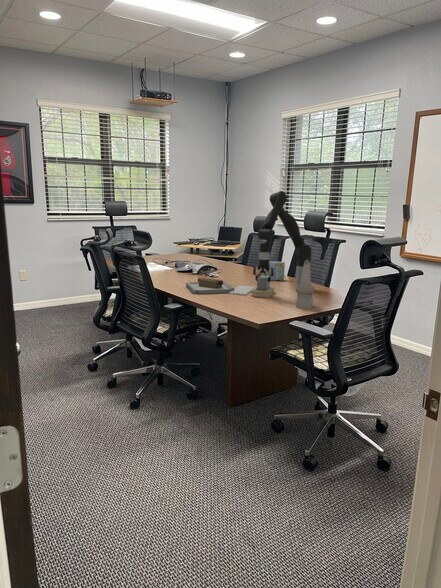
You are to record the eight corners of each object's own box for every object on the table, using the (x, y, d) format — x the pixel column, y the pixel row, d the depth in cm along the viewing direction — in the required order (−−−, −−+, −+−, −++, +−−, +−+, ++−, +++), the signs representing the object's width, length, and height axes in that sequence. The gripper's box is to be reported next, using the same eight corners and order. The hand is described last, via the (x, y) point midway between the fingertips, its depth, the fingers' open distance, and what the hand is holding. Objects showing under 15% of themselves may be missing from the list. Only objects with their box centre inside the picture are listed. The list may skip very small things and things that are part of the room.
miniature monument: (312, 308, 268) (315, 260, 261) (294, 307, 270) (297, 259, 263) (313, 304, 277) (316, 258, 271) (296, 303, 280) (299, 257, 273)
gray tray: (193, 295, 299) (193, 284, 297) (185, 286, 327) (185, 276, 326) (235, 293, 307) (235, 283, 305) (223, 285, 335) (224, 275, 333)
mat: (255, 288, 323) (255, 286, 323) (245, 295, 299) (245, 294, 299) (239, 286, 327) (240, 285, 327) (229, 293, 303) (229, 292, 303)
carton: (274, 292, 312) (275, 285, 311) (268, 298, 293) (268, 291, 292) (258, 290, 316) (258, 284, 315) (250, 296, 297) (250, 290, 296)
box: (269, 292, 309) (269, 276, 306) (265, 296, 298) (265, 279, 295) (260, 292, 311) (261, 275, 308) (256, 295, 300) (257, 278, 297)
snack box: (283, 279, 358) (284, 261, 355) (283, 281, 352) (284, 262, 349) (257, 278, 360) (258, 260, 356) (257, 280, 354) (258, 261, 351)
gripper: (275, 258, 300) (274, 281, 304) (255, 257, 305) (254, 279, 308) (273, 260, 293) (271, 283, 297) (252, 258, 298) (251, 281, 301)
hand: (262, 281), depth 303 cm, fingers open, 8 cm apart
